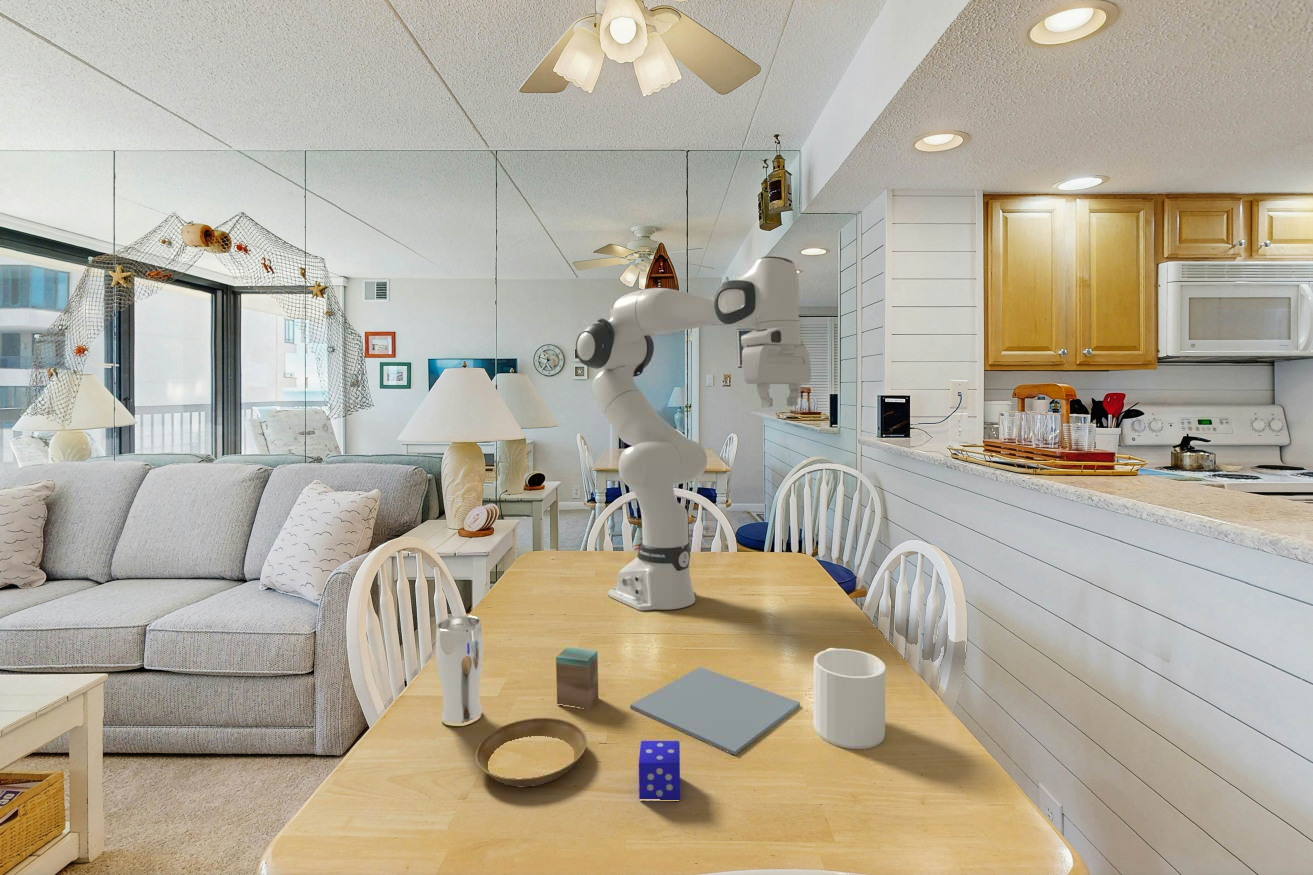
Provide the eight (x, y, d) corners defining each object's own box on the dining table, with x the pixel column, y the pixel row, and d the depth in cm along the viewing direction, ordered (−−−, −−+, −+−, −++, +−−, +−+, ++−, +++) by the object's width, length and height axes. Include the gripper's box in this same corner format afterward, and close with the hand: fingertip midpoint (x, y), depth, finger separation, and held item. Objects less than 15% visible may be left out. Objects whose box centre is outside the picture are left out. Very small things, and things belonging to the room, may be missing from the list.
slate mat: (630, 708, 98) (630, 704, 98) (700, 670, 111) (700, 666, 111) (734, 755, 84) (734, 751, 84) (799, 705, 98) (799, 702, 98)
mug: (898, 747, 86) (898, 675, 85) (829, 752, 85) (829, 680, 84) (858, 703, 98) (858, 640, 98) (797, 707, 97) (797, 644, 97)
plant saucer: (484, 811, 74) (483, 791, 74) (469, 748, 87) (469, 730, 87) (601, 780, 80) (601, 760, 80) (570, 725, 93) (570, 708, 93)
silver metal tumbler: (494, 709, 98) (491, 617, 97) (467, 732, 91) (463, 633, 90) (457, 703, 100) (454, 612, 99) (428, 724, 93) (424, 628, 92)
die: (641, 777, 80) (640, 739, 80) (680, 777, 80) (679, 740, 79) (639, 802, 75) (638, 762, 75) (680, 802, 75) (679, 762, 74)
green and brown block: (567, 693, 103) (566, 647, 102) (598, 698, 101) (597, 650, 101) (557, 705, 99) (555, 656, 98) (588, 710, 97) (587, 660, 97)
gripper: (791, 342, 134) (793, 406, 134) (735, 337, 119) (737, 408, 119) (817, 339, 129) (819, 405, 130) (763, 333, 114) (765, 407, 115)
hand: (780, 406), depth 124 cm, fingers open, 8 cm apart
